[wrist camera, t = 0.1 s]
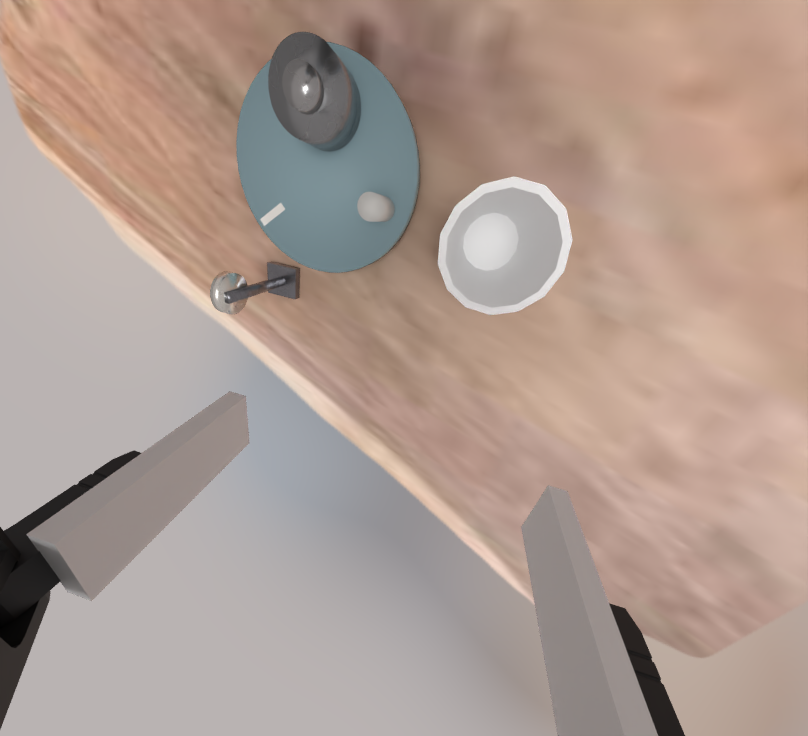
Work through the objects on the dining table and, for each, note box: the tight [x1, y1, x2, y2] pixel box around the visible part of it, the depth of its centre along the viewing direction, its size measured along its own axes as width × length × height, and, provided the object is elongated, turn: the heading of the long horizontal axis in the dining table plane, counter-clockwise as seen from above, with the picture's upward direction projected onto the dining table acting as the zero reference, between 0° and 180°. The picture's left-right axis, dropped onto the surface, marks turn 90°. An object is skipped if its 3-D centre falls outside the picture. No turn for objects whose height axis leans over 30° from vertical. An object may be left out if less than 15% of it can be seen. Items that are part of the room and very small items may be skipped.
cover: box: [268, 32, 361, 152], centre depth 26 cm, size 7×7×5 cm
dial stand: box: [210, 262, 300, 314], centre depth 35 cm, size 4×4×12 cm
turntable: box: [237, 42, 420, 273], centre depth 29 cm, size 20×20×7 cm
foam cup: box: [438, 176, 572, 315], centre depth 27 cm, size 10×9×13 cm
